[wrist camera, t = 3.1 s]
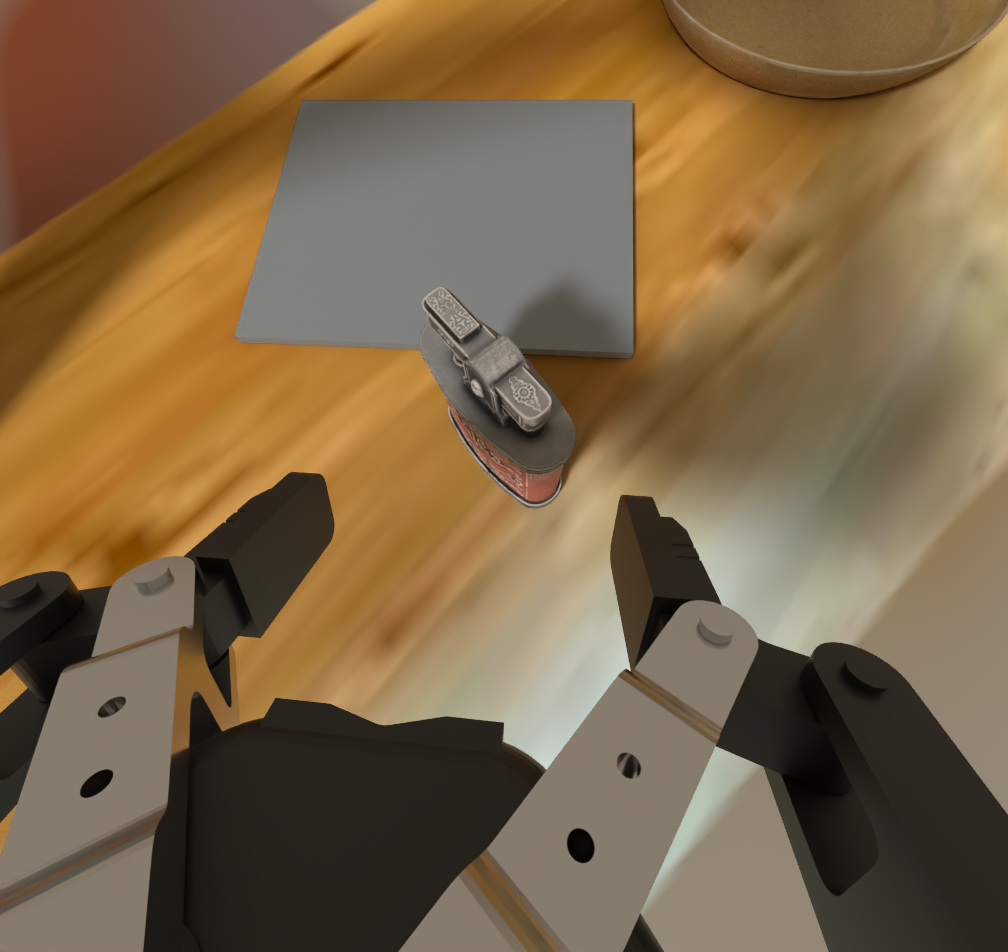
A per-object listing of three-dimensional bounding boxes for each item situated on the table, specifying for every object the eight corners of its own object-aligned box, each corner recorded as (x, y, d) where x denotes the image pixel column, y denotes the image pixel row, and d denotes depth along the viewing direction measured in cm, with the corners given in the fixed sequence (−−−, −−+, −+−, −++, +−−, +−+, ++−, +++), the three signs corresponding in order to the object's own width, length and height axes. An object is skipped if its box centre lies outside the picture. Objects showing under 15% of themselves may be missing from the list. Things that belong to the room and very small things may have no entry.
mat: (240, 342, 26) (234, 336, 25) (306, 109, 31) (301, 100, 31) (630, 358, 24) (633, 352, 24) (630, 109, 30) (632, 100, 29)
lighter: (575, 483, 22) (611, 401, 13) (526, 522, 22) (527, 469, 12) (482, 381, 24) (454, 244, 15) (437, 416, 24) (377, 298, 14)
